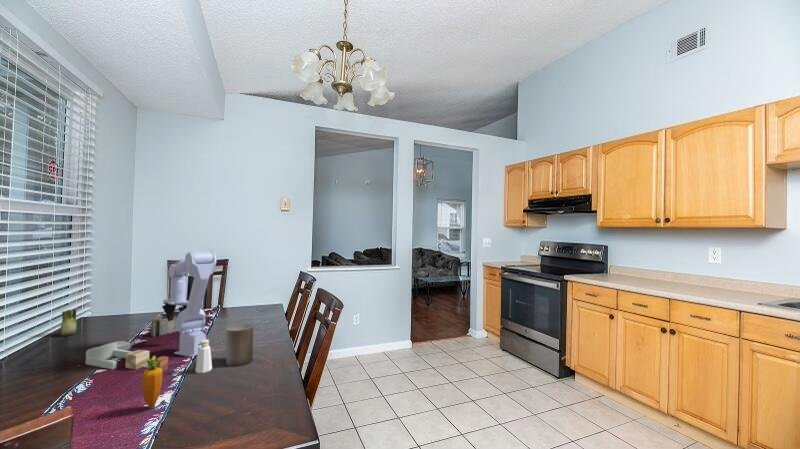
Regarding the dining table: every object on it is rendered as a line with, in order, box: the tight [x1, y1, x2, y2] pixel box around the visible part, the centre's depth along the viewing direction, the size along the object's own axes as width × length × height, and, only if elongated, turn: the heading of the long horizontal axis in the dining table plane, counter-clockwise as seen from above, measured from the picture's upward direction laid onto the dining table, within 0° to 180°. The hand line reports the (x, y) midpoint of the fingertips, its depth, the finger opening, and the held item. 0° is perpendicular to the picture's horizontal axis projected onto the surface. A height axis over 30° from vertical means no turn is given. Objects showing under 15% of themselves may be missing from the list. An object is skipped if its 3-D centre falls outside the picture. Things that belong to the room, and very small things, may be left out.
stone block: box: [87, 340, 132, 351], centre depth 139 cm, size 12×5×10 cm
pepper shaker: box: [194, 338, 213, 374], centre depth 124 cm, size 5×5×11 cm
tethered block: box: [125, 349, 169, 372], centre depth 125 cm, size 16×5×5 cm, turn 74°
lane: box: [85, 341, 134, 370], centre depth 130 cm, size 14×10×5 cm
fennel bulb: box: [59, 308, 78, 337], centre depth 158 cm, size 6×5×12 cm
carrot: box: [141, 355, 164, 409], centre depth 98 cm, size 5×5×15 cm
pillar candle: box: [225, 322, 254, 367], centre depth 133 cm, size 10×10×15 cm
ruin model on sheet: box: [150, 315, 178, 338], centre depth 164 cm, size 11×3×10 cm, turn 151°
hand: (177, 321), depth 151 cm, fingers open, 7 cm apart
